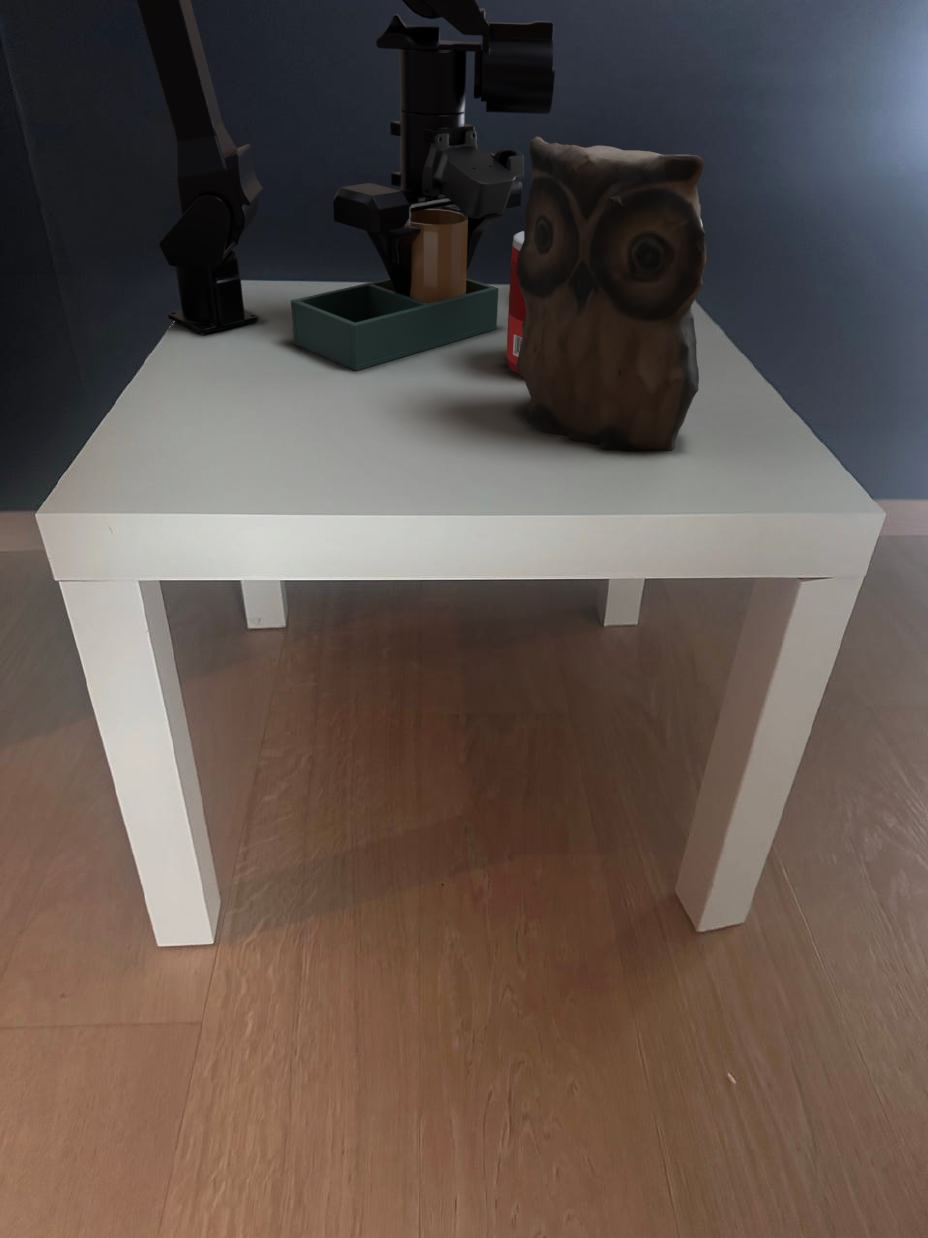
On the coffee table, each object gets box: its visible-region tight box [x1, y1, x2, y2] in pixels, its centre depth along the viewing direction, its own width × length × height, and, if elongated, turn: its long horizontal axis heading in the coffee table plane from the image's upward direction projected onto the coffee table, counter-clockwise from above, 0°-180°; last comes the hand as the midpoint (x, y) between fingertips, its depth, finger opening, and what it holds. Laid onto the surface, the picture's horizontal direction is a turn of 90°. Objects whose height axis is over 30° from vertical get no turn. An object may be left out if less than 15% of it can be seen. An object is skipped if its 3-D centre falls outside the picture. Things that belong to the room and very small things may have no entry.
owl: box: [516, 136, 707, 452], centre depth 67 cm, size 13×13×20 cm
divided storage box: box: [290, 277, 499, 371], centre depth 87 cm, size 9×18×4 cm, turn 134°
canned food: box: [505, 230, 526, 375], centre depth 80 cm, size 8×8×11 cm
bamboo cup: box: [410, 208, 468, 304], centre depth 88 cm, size 7×7×9 cm
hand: (430, 293), depth 89 cm, fingers closed on bamboo cup, 6 cm apart
